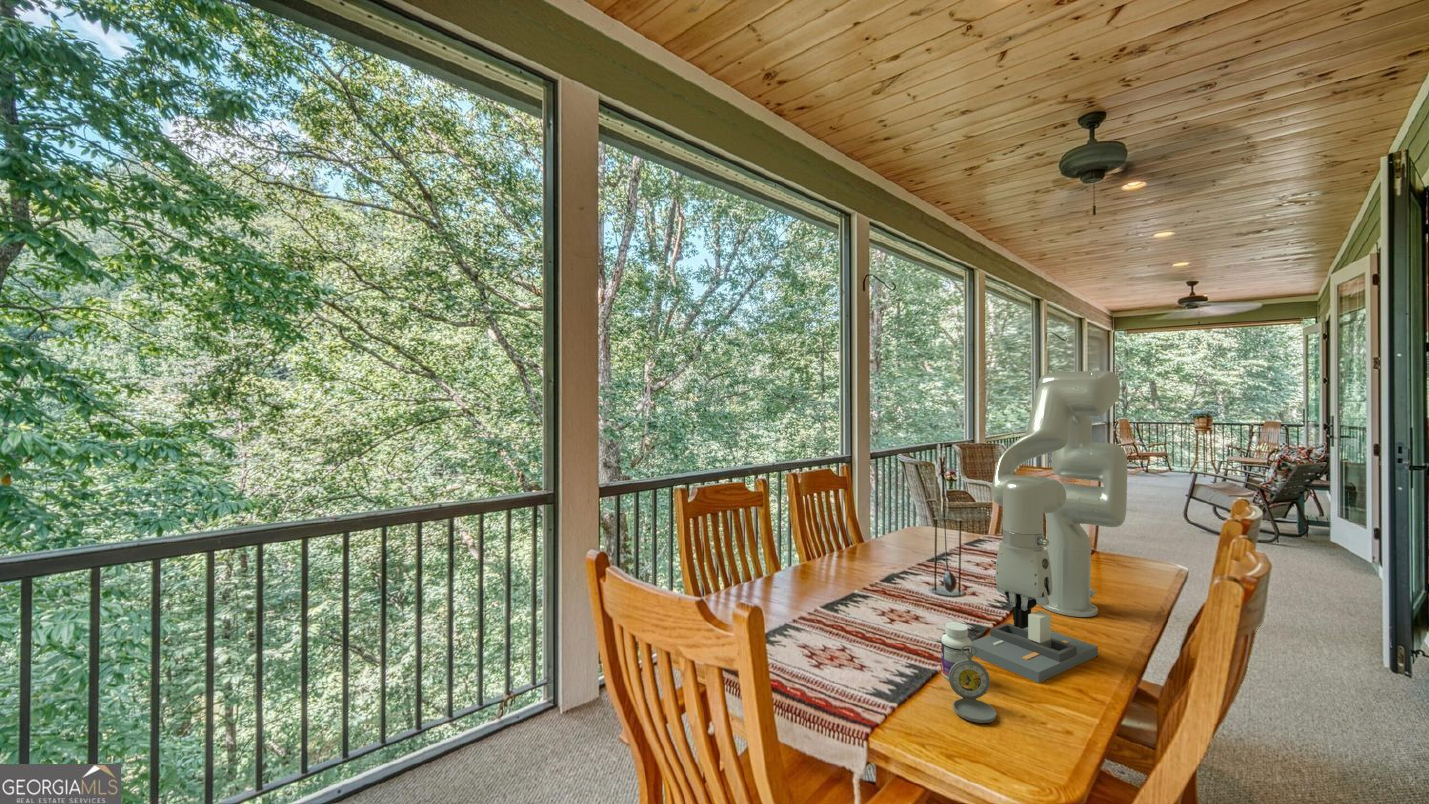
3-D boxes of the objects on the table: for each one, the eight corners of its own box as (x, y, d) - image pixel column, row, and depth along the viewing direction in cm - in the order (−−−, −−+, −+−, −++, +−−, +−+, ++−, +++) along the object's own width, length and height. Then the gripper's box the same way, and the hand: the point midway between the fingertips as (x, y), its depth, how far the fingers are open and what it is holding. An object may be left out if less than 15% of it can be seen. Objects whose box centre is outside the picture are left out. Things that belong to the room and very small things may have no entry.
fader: (1037, 641, 120) (1037, 610, 120) (1052, 647, 118) (1052, 614, 117) (1026, 645, 118) (1026, 613, 118) (1041, 651, 115) (1041, 618, 115)
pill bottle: (948, 667, 113) (948, 618, 113) (976, 676, 109) (976, 626, 109) (936, 676, 109) (936, 625, 109) (964, 686, 105) (965, 634, 105)
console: (1026, 630, 131) (1026, 615, 131) (1097, 655, 118) (1097, 639, 118) (966, 652, 120) (966, 635, 120) (1038, 683, 107) (1038, 664, 107)
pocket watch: (975, 729, 92) (976, 667, 92) (936, 703, 100) (936, 646, 100) (1012, 718, 95) (1012, 658, 95) (971, 694, 103) (971, 638, 103)
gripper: (1069, 545, 116) (1068, 635, 116) (999, 530, 129) (999, 611, 129) (1048, 550, 112) (1047, 643, 113) (979, 534, 125) (978, 618, 125)
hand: (1021, 626), depth 121 cm, fingers closed
